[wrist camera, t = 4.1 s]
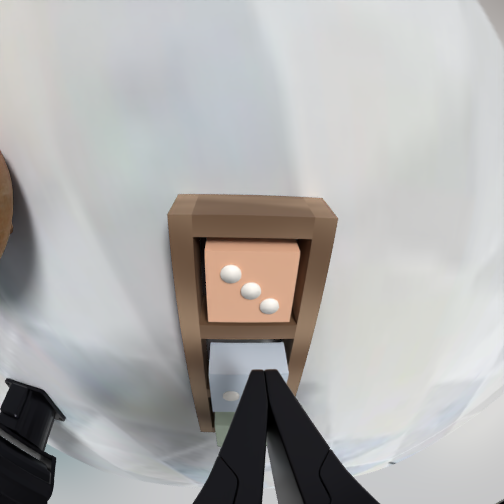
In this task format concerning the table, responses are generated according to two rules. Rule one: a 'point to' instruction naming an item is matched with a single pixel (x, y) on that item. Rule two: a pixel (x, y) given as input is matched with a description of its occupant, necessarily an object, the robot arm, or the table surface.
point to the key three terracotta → (250, 278)
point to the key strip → (247, 226)
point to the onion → (5, 205)
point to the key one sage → (223, 425)
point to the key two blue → (240, 369)
